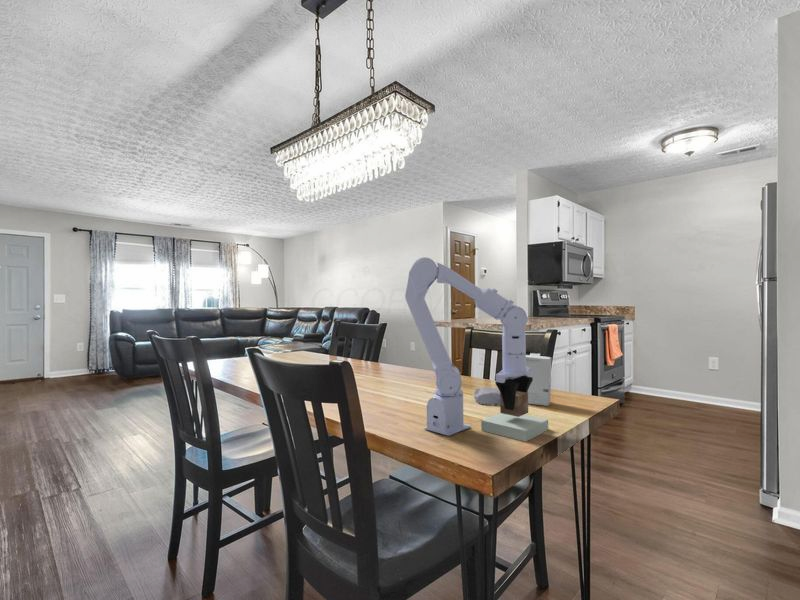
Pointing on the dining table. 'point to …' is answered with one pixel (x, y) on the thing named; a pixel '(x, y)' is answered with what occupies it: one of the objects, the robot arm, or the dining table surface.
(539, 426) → the sage board block
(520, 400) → the walnut cube
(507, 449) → the dining table surface
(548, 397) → the skincare box
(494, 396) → the stone block
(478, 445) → the dining table surface
